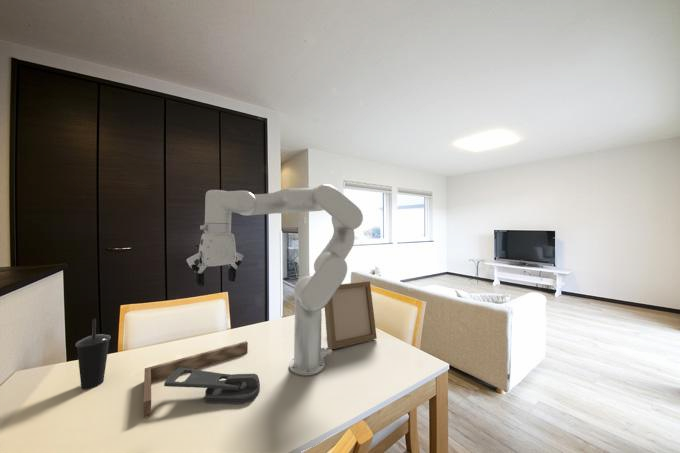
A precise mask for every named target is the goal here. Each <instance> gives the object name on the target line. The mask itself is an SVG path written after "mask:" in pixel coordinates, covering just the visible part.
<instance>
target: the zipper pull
mask: <svg viewBox="0 0 680 453" xmlns="http://www.w3.org/2000/svg"><path fill="white" fill-rule="evenodd" d="M183 374H189V375H188V377H187V378H186V379H185V380H183V381H177V380H178V378H179V377H181V375H183ZM260 385H261V383H260V377H259V375H258V374H256V373H235V374H234V373H233V374H228V373H221V372H214V371H207V370H200V369H196V368H195V369H188V368H181V367H180V368H179V369H177V370H176V371H174V372H173V373H172V374H171V375H170V376H168V377H166V379H165V382H164V384H163V387H172V388H197V389H202V388H203V389H205V392H204V393H205V395H204V396H205V397H204V398H205V403H206V404H207V405H208V404H209V405H210V404H211V405H212V404H215V405H218V404H219V405H223V404H224V405H245V404H248V403H252V402H254V401H255V400H256V398H257V397H258V396H259V394H260V391H261V390H260V389H261V386H260Z"/></svg>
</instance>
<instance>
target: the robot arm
mask: <svg viewBox="0 0 680 453" xmlns="http://www.w3.org/2000/svg"><path fill="white" fill-rule="evenodd" d="M204 202H205V207H204V208H205V210H204V224H203V225H201V224H200V225H199V226H200V227H199V229H200V230H203V233H202V235H201V237H200V243H199V246H198V247H199V248H198V252H197V253H195V254H193V255H192V256H189V257H188V258H186V262H187V264H188V267H189V268H190V269H191V270H192V271H193V272H194V273H195V284H196V285H197V286H198V287H204V286H205V273H204V270H206V268H207V267H219V266H229V268H228V270H227V271H228V274H227V275H228V276H227V277H228V279H227V280H228V281H229V282H232V283H233V282H235V281H236V278H237V269H238V267H239V266H241V264H242V261H243V259H244V257H245V256H244V254H242V253H241V252H238V251H237V249H236V248H237V247H236V239H235V235H234V233H232V213H236V214H239V215H241V216H256V215H257V216H260V215H270V214H271V215H272V214H273V215H274V214H292V213H293V214H294V213H307V212H308V213H309V212H322V211H325V213H327V214H329V215H330V217H331V223H332V227H333V233H332V234H333V235H332V236H331V238H330V240H329V242H328V243H327V244H326V246H325V247H324V248H323V250H322V251H321V252H320V253H319V255H318V256H317V257H316V259H315V261H314V263H313V270H314V274H313V275H312V276H311V275H304V276H302V277H299V279H298V280H297V281H296V283H295V284H294V288H293V302H294V331H293V333H294V335H293V336H294V337H293V338H294V340H293V347H294V348H293V358H291V360H290V361H289V370H290V372H292V373H293V374H295V375H299V376H306V377H307V376H313V375H316V374H318V373H321V372H322V371H323V370H324V369H325V367H326V361H325V358H326V356H329V355H332V354H333V349H330V348H327V349H326V348H325V347H322V317H323V316H322V309H323V308H325V305H326V304H327V303H328V302H329V301H330V299H331V298H332V296H333V295H334V293H335V292H336V291H337V289H338V288H339V286H340V285H341V284H343V282H344V281H345V278H346V276H347V273H348V264H347V261H346V258H347V257H348V255H349V254H350V253H351V250H352V249H353V247H354V244H355V238H356V237H355V230H356V229H359V227H360V226H361V225H362V224H363V221H364V216H363V215H364V214H363V213H362V210H361V209H360V208H359V207H358V206H357V204H356V203H354V202H352V201H351V200H350V199H349V198H348V197H347V196H346V195H344V194H343V193H342V192H341V191H340V190H338V189H337V188H336V187H334V186H333V185H331V184H328V183H327V184H325V183H324V184H320V185H319V186H317V187H316V186H315V187H298V188H297V187H294V188H293V187H292V188H283V189H280V190H277V191H274V192H271V193H270V192H269V193H257V194H256V193H254V194H253V193H252V192H251V191H249V190H229V191H227V190H223V189H210V190H207V191H206V192H205V200H204ZM196 260H198V265H196V263H195V261H196Z"/></svg>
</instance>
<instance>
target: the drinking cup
mask: <svg viewBox="0 0 680 453" xmlns="http://www.w3.org/2000/svg"><path fill="white" fill-rule="evenodd" d="M96 323H97V319H96V318H93V319H92V331H91V332H92V335H88V336H86V337H84V338H82V339H80V340H78V341H77V342H76V343H75V347H76V349H77V359H78V361H77V362H78V370H79V377H80V387H81V389H82V390H90V389H93V388H95V387H98V386H100V385H102V384H103V383H104V379H105V375H106V374H105V373H106V366H107V359H108V353H109V346H110V344H109V343H110V340H111V338H112V337H111V335H110V334H103V333H100V334H96V330H97V329H96V328H97V324H96Z"/></svg>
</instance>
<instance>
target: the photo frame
mask: <svg viewBox="0 0 680 453" xmlns="http://www.w3.org/2000/svg"><path fill="white" fill-rule="evenodd" d="M324 316H325V317H324V318H325V330H326V341H327V342H326V343H327V349H331V350H336V349H339V348H343V347H347V346H351V345H356V344H361V343H364V342H368V341H372V340H378V339H377V336H378V335H377V328H376V323H375V322H376V321H375V313H374V304H373V294H372V287H371V280H370V281H358V282H349V283H341V285H340V286H339V288H338V289H337V291H336V292H335V293H334V295H333V296H332V298H331V299H330V301H329V302H328V303H327V304H326V305H325V306H324Z"/></svg>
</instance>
